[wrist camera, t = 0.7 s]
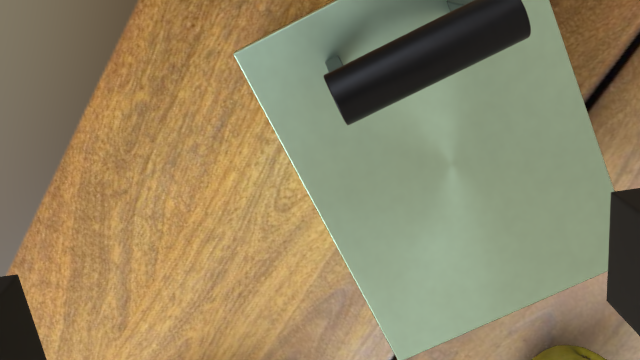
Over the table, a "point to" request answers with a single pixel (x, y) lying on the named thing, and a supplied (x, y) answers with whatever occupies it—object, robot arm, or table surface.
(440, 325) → the freezer lid
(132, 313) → the table surface
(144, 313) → the table surface
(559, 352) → the apple
